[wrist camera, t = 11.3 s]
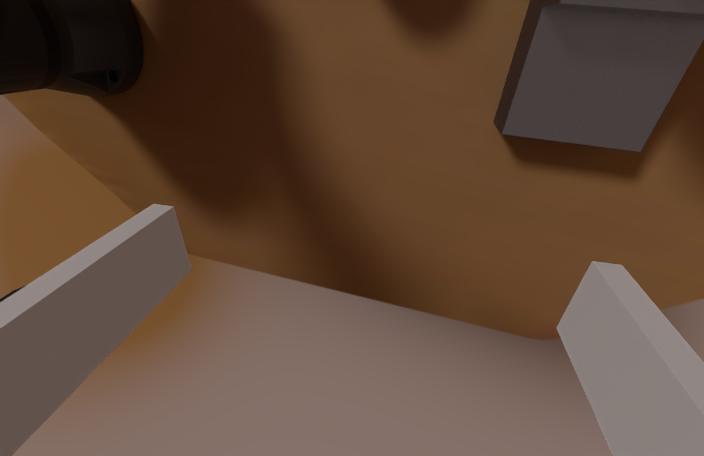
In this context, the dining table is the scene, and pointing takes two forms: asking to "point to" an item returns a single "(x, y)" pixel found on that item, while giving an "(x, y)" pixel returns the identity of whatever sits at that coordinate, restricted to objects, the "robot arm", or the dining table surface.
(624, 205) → the dining table surface
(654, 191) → the dining table surface
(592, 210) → the dining table surface
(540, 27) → the stand
